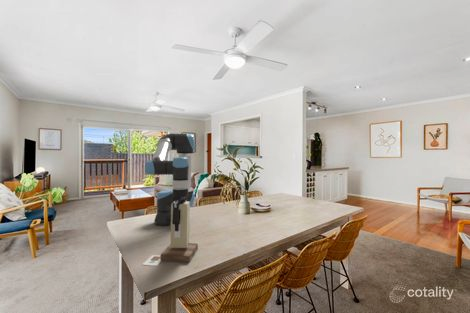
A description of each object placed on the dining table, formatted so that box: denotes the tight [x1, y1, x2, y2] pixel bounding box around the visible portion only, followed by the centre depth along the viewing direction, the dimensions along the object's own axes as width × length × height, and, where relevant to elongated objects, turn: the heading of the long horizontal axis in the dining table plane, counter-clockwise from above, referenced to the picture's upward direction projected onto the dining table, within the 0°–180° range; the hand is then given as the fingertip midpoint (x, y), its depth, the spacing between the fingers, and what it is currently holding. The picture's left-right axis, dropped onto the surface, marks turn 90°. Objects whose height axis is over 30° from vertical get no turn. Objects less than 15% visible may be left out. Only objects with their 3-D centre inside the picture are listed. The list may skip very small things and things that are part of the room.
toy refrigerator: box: [169, 201, 191, 247], centre depth 106 cm, size 8×7×21 cm
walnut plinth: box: [159, 242, 199, 264], centre depth 106 cm, size 14×14×3 cm
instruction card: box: [141, 254, 162, 267], centre depth 100 cm, size 9×7×1 cm
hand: (180, 234), depth 106 cm, fingers closed on toy refrigerator, 7 cm apart
